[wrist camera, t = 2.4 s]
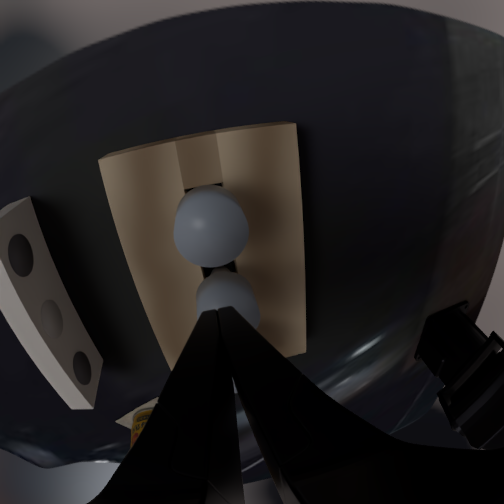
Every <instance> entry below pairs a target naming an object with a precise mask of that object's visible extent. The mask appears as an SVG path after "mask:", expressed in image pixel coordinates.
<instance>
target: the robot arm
mask: <svg viewBox="0 0 504 504" xmlns="http://www.w3.org/2000/svg"><path fill="white" fill-rule="evenodd" d="M468 307H469V303H468V302H467V301H465V302H462V303H460V304H458V305H456V306H453V307H451V308H449V309H446V310H444V311H441V312H439V313H437V314H434V315H432V316H430V317H429V318H428V319H427V320H426V323H425V327H424V330H423V333H422V336H421V339H420V342H419V345H418V348H417V351H416V354H415V356H414V358H415V360H416V361H418V360H421V359H422V360H423V361H424V362H425V364H426V365H427V366H428V368H429V369H430V370H431V372H432V373H433V374H434V376H435V377H438V376H439V378H440V379H441V380H442V382H443V383H444V384H445V387H444V388H443V389H442V390H440V391H439V392H438V393H437V395H438V397H439V401H440V403H441V405H442V407H443V409H444V412H445V414H446V416H447V418H448V420H449V422H450V426H451V429H452V430H454V431H458V432H459V433H460V434H461V435H462V436H465V437H467V439H468V441H469V443H470V445H471V446H473V447H475V448H477V449H481V448H482V449H485V450H474V449H456V448H445V447H434V446H426V445H418V444H412V443H408V442H404V441H401V440H399V439H396V438H394V437H392V436H390V435H388V434H386V433H384V432H383V431H381V430H379V429H378V428H376V427H375V426H373V425H371V424H370V423H368V422H367V421H365V420H363V419H362V418H360V417H359V416H357V415H356V414H354V413H352V412H351V411H349V410H348V409H346V408H345V407H343V406H342V405H340V404H339V403H338V402H336V401H335V400H333V399H332V398H331V397H329V396H328V395H327V394H325V393H324V392H323V391H322V390H321V389H319V388H318V387H317V386H316V385H315V384H313V383H312V382H311V381H310V380H309V379H308V378H307V377H306V376H305V375H303V374H302V373H301V372H300V371H299V370H298V369H297V368H296V367H295V366H294V365H293V364H292V363H291V362H289V361H288V360H287V359H286V358H285V357H284V356H283V355H282V354H281V353H280V352H279V351H278V350H277V349H276V348H275V347H274V346H273V345H272V344H271V343H270V342H268V341H267V340H266V339H265V338H264V337H263V336H262V335H261V334H260V333H259V332H258V331H257V330H256V329H255V328H254V327H253V326H252V325H251V324H250V323H249V322H248V321H247V320H246V319H245V318H244V317H243V316H242V315H241V314H240V313H239V312H238V311H237V310H236V309H235V308H234V307H233V306H226V307H221V308H218V310H216V309H211V310H206V311H203V312H202V313H201V314H200V316H199V318H198V320H197V322H196V324H195V326H194V328H193V330H192V332H191V334H190V336H189V338H188V340H187V342H186V344H185V346H184V348H183V350H182V352H181V354H180V356H179V358H178V360H177V362H176V364H175V366H174V368H173V370H172V372H171V374H170V376H169V378H168V380H167V382H166V384H165V386H164V388H163V390H162V392H161V394H160V396H159V398H158V400H157V402H158V403H156V404H155V406H154V408H153V410H152V412H151V414H150V416H149V418H148V420H147V422H146V423H145V425H144V427H143V429H142V431H141V432H140V434H139V436H138V437H137V439H136V441H135V442H134V444H133V445H132V447H131V449H130V450H129V452H128V453H127V455H126V456H125V458H124V459H123V461H122V462H121V464H120V465H119V467H118V468H117V470H116V471H115V473H114V474H113V476H112V478H111V479H110V480H109V482H108V483H107V485H106V486H105V487H104V489H103V490H102V491H101V492H100V493H99V495H97V496H96V497H95V498H94V499H93V500H91V501H90V502H89V503H87V504H245V500H244V491H243V481H242V472H241V461H240V451H239V440H238V429H237V418H236V406H235V393H234V384H235V387H236V390H237V392H238V395H239V398H240V400H241V403H242V406H243V408H244V411H245V413H246V416H247V418H248V421H249V423H250V426H251V428H252V431H253V433H254V436H255V438H256V441H257V443H258V446H259V448H260V451H261V453H262V455H263V458H264V460H265V462H266V465H267V467H268V469H269V472H270V474H271V476H272V479H273V481H274V483H275V485H276V488H277V490H278V492H279V494H280V496H281V499H282V501H283V503H284V504H504V340H503V339H502V338H501V337H499V336H498V335H497V334H496V333H495V332H494V331H492V333H491V334H490V336H489V338H488V337H487V336H486V335H485V334H484V333H483V332H482V331H481V330H480V329H479V328H478V327H477V326H476V324H475V323H474V322H473V321H472V320H471V319H470V318H469V317H468V316H467V315H466V312H467V310H468ZM501 347H502V348H503V349H502V351H501V352H498V351H499V350H500V348H501ZM497 352H498V353H497ZM232 377H233V378H232ZM233 381H234V383H233Z"/></svg>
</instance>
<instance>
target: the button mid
mask: <svg viewBox="0 0 504 504" xmlns="http://www.w3.org/2000/svg"><path fill="white" fill-rule="evenodd" d="M196 306H197V320H198V318H199V316H200V314H201V313H202V312H203V311H206V310H211V309H216V310H218V308H221V307H226V306H233V307H234V308H235V309H236V310H237V311H238V312H239V313H240V314H241V315H242V316H243V317H244V318H245V319H246V320H247V321H248V322H249V323H250V324H251V325H252V326H253V327H254V328H255V329H257V327H258V325H259V322H260V311H259V308H258V305H257V302H256V299H255V296H254V293H253V290H252V287H251V284H250V283H249V281H248V280H247V279H246V278H245V277H243V276H242V275H240V274H237V273H234V272H230V270H229V269H228V268H226V267H222V266H220V267H216V268H215V269H213V270H212V272H211V275H210V276H209V277H207V278H206V279H204V280H203V281H202V282H201V284H200V285H199V287H198V289H197V292H196Z"/></svg>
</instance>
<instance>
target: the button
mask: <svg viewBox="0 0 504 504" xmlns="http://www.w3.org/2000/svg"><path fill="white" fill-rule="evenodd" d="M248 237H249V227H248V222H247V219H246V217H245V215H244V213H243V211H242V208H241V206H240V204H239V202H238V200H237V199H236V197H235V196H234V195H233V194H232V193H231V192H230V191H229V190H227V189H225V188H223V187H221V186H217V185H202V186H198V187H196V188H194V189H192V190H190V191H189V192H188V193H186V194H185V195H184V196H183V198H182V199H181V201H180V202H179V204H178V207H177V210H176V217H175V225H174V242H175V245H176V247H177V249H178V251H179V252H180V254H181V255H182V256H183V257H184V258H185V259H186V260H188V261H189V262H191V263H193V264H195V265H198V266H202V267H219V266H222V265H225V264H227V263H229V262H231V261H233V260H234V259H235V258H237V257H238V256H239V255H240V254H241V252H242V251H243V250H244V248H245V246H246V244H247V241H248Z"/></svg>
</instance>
